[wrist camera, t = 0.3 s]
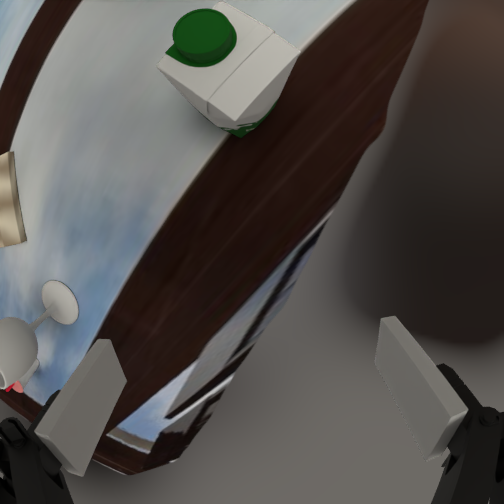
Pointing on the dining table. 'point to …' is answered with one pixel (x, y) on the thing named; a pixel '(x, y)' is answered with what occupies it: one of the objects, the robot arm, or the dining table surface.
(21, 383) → the cup
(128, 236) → the dining table surface
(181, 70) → the milk carton
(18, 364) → the wineglass
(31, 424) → the robot arm
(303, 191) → the dining table surface
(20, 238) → the light wooden flat board
